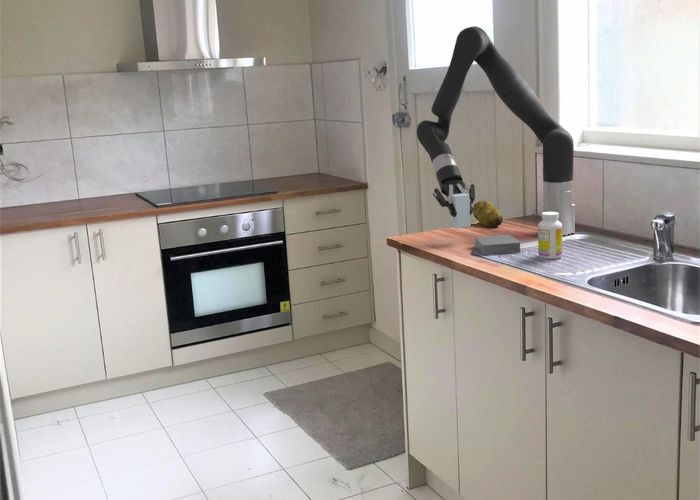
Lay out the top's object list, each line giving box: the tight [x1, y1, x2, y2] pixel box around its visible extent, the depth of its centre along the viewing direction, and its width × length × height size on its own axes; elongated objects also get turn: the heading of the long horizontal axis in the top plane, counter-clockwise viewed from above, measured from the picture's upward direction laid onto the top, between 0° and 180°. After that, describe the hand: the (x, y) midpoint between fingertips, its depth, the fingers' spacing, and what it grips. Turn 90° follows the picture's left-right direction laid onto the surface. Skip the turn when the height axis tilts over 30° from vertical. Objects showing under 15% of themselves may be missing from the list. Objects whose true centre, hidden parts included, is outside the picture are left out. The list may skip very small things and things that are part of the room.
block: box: [450, 193, 471, 230], centre depth 242 cm, size 4×4×10 cm
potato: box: [472, 200, 504, 228], centre depth 269 cm, size 8×13×8 cm, turn 8°
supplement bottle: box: [537, 211, 563, 260], centre depth 222 cm, size 7×7×13 cm
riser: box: [474, 234, 521, 255], centre depth 235 cm, size 11×11×3 cm
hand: (462, 214), depth 241 cm, fingers closed on block, 4 cm apart
